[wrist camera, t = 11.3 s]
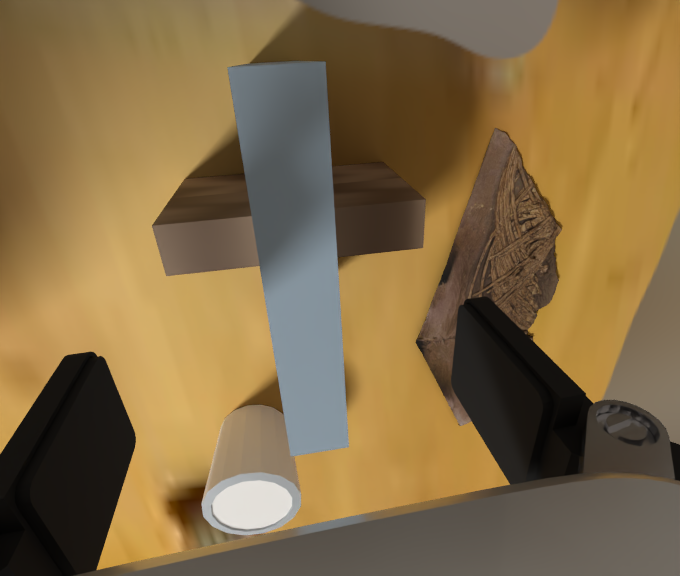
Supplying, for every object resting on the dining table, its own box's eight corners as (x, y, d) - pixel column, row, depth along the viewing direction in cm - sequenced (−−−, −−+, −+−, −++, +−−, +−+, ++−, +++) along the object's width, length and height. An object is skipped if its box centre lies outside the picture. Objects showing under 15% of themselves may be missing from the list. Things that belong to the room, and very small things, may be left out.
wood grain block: (193, 217, 26) (166, 276, 19) (184, 179, 24) (151, 225, 18) (383, 199, 27) (423, 248, 20) (383, 162, 26) (425, 199, 19)
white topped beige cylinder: (287, 391, 33) (291, 464, 27) (302, 447, 37) (309, 524, 31) (202, 409, 33) (187, 487, 27) (225, 464, 36) (216, 545, 30)
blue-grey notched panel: (249, 63, 22) (227, 67, 10) (293, 60, 22) (325, 61, 10) (280, 290, 29) (290, 456, 17) (315, 286, 29) (348, 447, 17)
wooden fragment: (517, 414, 40) (523, 422, 39) (405, 428, 38) (408, 437, 37) (593, 125, 27) (604, 128, 26) (432, 131, 26) (438, 133, 25)
